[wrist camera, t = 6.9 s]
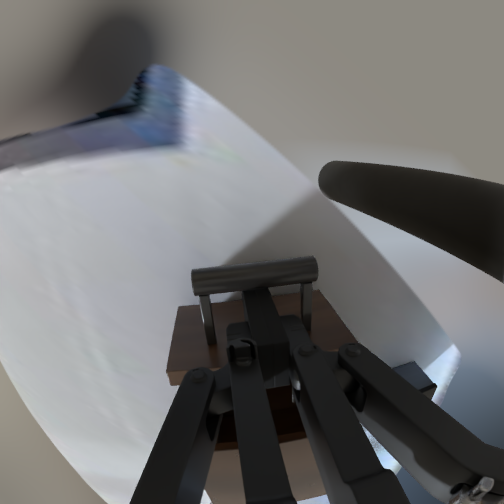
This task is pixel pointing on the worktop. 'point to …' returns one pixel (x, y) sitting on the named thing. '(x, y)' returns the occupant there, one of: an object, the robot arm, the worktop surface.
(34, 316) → the worktop surface
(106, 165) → the worktop surface
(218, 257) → the worktop surface
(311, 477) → the cabinet
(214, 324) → the drawer
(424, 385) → the dark grey rectangular block
